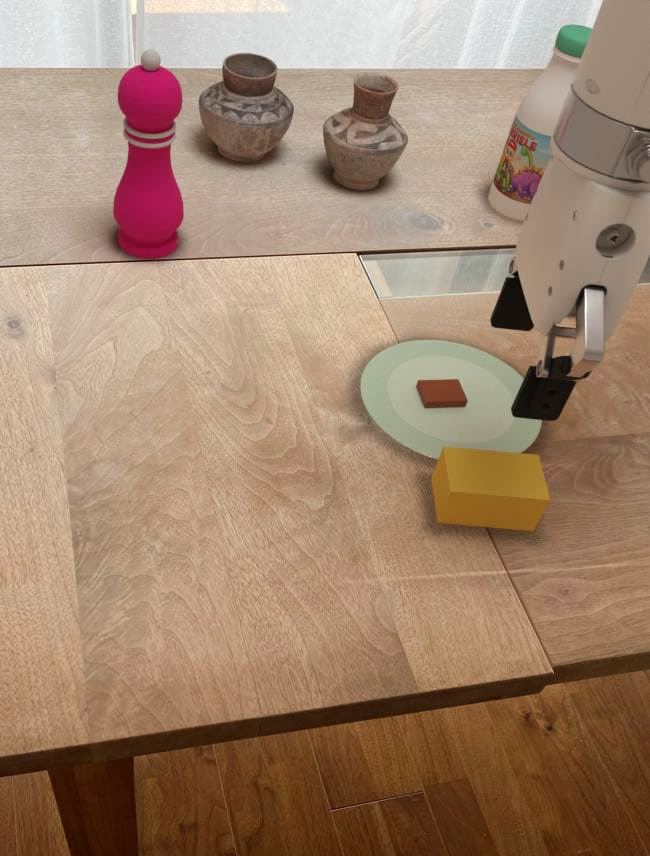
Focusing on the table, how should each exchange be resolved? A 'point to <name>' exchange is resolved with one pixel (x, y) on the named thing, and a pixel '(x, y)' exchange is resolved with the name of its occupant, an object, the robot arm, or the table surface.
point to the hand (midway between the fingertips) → (521, 369)
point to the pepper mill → (149, 161)
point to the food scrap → (441, 393)
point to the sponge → (489, 488)
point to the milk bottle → (536, 127)
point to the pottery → (272, 114)
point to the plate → (447, 426)
